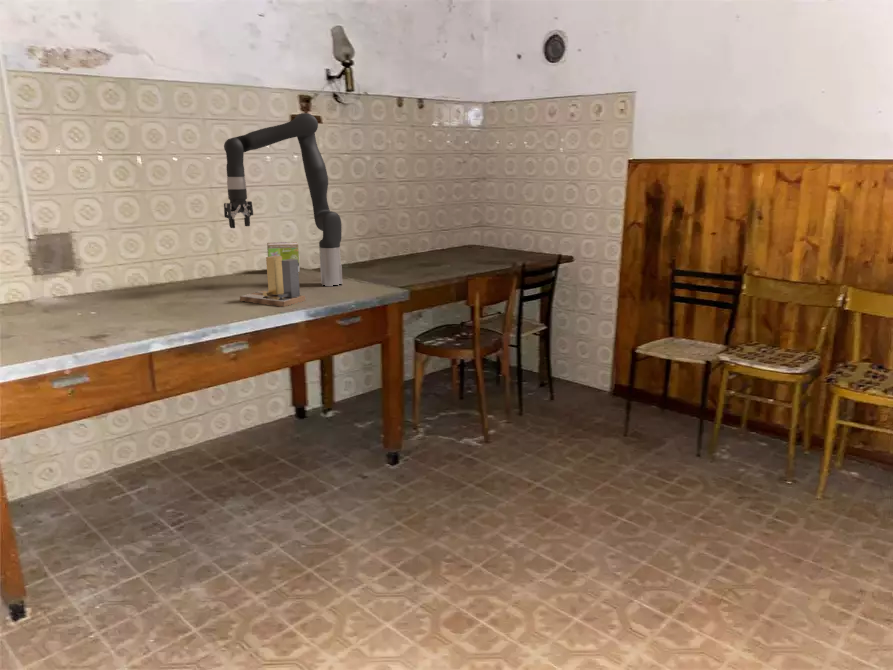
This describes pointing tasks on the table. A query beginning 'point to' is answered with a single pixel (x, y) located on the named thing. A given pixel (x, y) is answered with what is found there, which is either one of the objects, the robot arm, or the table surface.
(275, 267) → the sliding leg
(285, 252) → the tea box
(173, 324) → the table surface
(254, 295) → the divider base
